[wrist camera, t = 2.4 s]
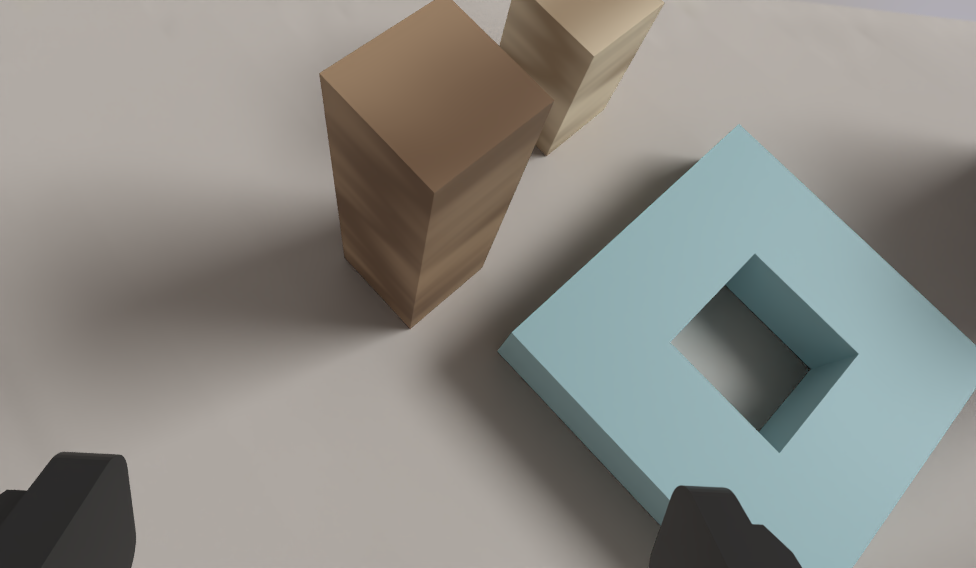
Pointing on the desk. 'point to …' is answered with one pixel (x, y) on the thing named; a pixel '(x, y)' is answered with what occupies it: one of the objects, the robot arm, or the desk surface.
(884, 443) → the hole plate
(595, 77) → the beech peg short
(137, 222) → the desk surface
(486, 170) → the walnut peg long
